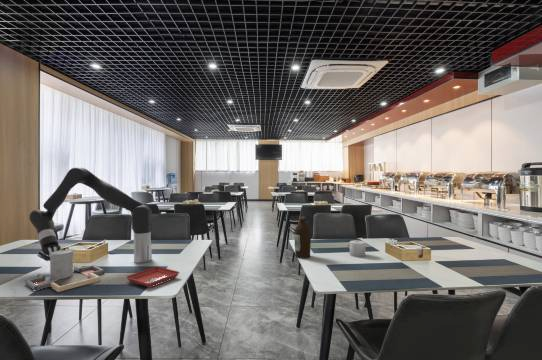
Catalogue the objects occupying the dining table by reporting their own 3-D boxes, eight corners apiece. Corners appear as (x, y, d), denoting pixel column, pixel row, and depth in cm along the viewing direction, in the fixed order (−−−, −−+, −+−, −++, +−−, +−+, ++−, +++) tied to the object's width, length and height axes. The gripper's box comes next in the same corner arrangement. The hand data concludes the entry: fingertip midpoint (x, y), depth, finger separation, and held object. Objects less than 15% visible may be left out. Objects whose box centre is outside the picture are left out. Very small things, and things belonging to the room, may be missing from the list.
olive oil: (305, 253, 191) (305, 215, 191) (314, 257, 181) (314, 217, 181) (291, 255, 187) (291, 216, 186) (299, 259, 177) (299, 218, 177)
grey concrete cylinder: (77, 274, 151) (77, 250, 151) (57, 280, 143) (57, 255, 143) (66, 271, 155) (65, 248, 155) (45, 277, 147) (45, 253, 147)
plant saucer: (148, 290, 130) (148, 283, 130) (124, 283, 140) (124, 276, 140) (180, 278, 146) (180, 271, 146) (157, 272, 155) (157, 266, 155)
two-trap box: (21, 281, 141) (21, 277, 141) (88, 266, 164) (88, 263, 164) (41, 296, 123) (41, 291, 123) (113, 277, 147) (112, 273, 147)
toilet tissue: (350, 251, 196) (350, 238, 196) (368, 255, 186) (368, 242, 186) (342, 253, 190) (342, 240, 190) (359, 258, 180) (359, 244, 180)
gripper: (34, 237, 154) (42, 264, 147) (63, 233, 165) (72, 258, 158) (31, 245, 158) (39, 272, 150) (60, 241, 168) (68, 266, 161)
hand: (56, 265), depth 154 cm, fingers closed
